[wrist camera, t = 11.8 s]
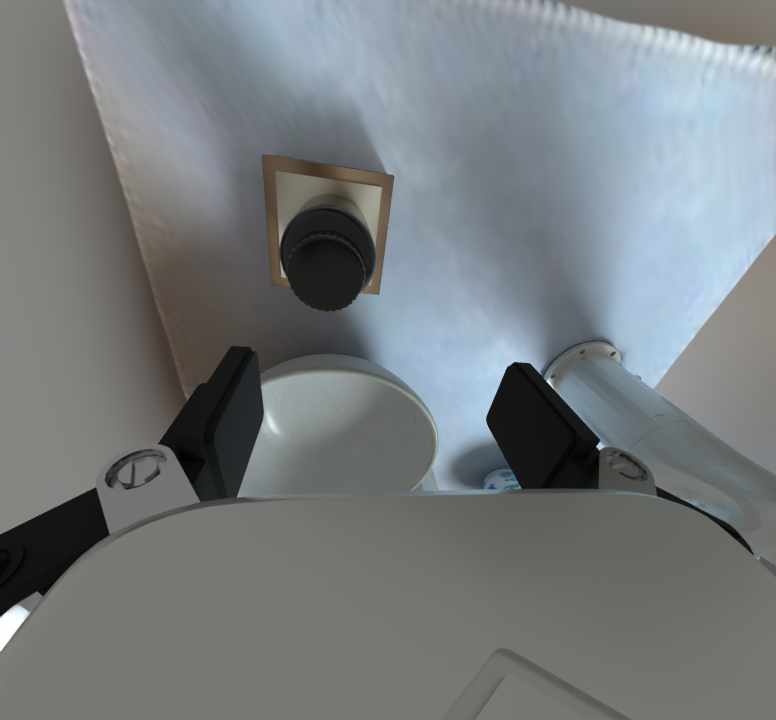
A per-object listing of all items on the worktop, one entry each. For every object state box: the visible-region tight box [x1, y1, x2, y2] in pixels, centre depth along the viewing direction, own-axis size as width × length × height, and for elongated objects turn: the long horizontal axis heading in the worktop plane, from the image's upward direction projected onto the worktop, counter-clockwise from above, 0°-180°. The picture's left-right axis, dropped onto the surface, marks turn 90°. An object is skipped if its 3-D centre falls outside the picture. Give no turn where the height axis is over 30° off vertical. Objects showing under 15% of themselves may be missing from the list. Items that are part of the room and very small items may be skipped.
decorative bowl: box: [237, 354, 438, 497], centre depth 40 cm, size 27×27×12 cm
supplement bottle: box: [280, 194, 376, 311], centre depth 23 cm, size 7×7×12 cm
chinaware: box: [480, 469, 521, 490], centre depth 60 cm, size 15×15×8 cm
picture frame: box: [262, 155, 394, 295], centre depth 30 cm, size 11×11×5 cm
